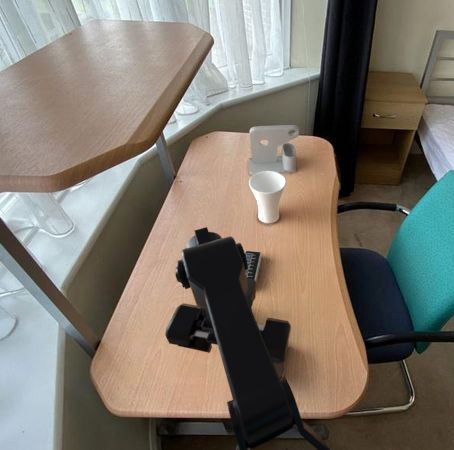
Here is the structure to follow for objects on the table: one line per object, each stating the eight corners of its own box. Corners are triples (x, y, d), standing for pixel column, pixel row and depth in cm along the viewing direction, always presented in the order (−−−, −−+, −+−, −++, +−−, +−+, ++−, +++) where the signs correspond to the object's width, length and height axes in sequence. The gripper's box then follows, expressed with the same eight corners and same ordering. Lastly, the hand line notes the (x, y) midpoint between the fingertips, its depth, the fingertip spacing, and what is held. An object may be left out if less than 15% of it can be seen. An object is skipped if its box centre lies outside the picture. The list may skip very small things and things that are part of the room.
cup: (251, 205, 104) (248, 171, 95) (284, 204, 105) (284, 170, 96) (252, 229, 97) (248, 194, 87) (287, 227, 98) (287, 192, 89)
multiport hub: (261, 256, 90) (261, 251, 88) (254, 290, 82) (254, 285, 80) (245, 255, 90) (245, 250, 88) (237, 288, 82) (236, 283, 80)
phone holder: (293, 156, 125) (295, 112, 113) (297, 172, 118) (299, 126, 106) (248, 159, 123) (244, 114, 110) (249, 175, 116) (245, 129, 103)
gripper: (298, 272, 51) (295, 321, 62) (184, 254, 52) (201, 306, 63) (283, 339, 43) (283, 382, 54) (150, 315, 45) (177, 362, 56)
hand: (235, 354), depth 57 cm, fingers open, 9 cm apart
